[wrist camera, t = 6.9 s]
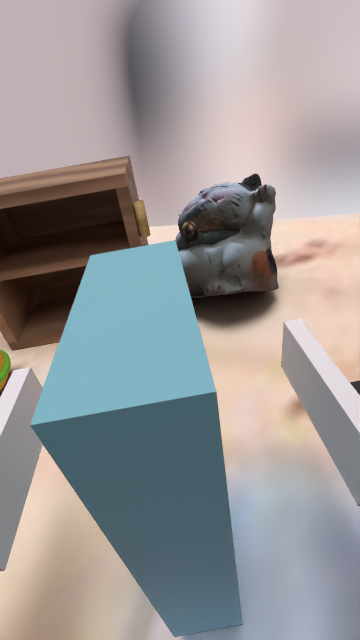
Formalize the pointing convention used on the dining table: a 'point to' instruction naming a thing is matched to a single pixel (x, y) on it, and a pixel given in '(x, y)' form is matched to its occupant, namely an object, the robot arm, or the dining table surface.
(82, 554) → the dining table surface
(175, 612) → the light blue rectangular block
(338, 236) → the dining table surface
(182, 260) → the lucky cat figurine
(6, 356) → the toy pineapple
